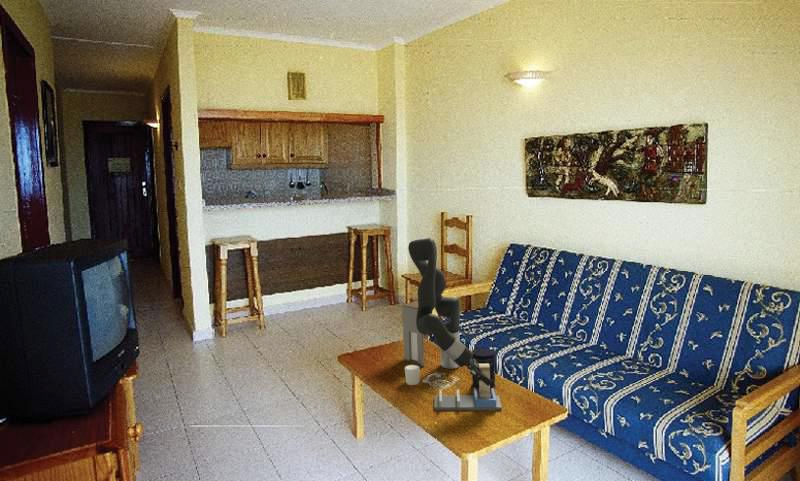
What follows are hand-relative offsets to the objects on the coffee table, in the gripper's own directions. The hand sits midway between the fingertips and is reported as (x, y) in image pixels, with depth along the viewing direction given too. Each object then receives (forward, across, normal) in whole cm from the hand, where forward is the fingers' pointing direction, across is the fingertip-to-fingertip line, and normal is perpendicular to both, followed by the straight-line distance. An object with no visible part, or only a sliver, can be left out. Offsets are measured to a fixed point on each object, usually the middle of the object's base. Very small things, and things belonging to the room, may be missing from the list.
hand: (489, 381), depth 210 cm
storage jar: (+6, +19, +7) cm, 21 cm away
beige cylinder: (-16, +22, +29) cm, 40 cm away
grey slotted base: (0, 0, +13) cm, 13 cm away
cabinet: (-16, +51, +30) cm, 61 cm away
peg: (+2, 0, +5) cm, 6 cm away
